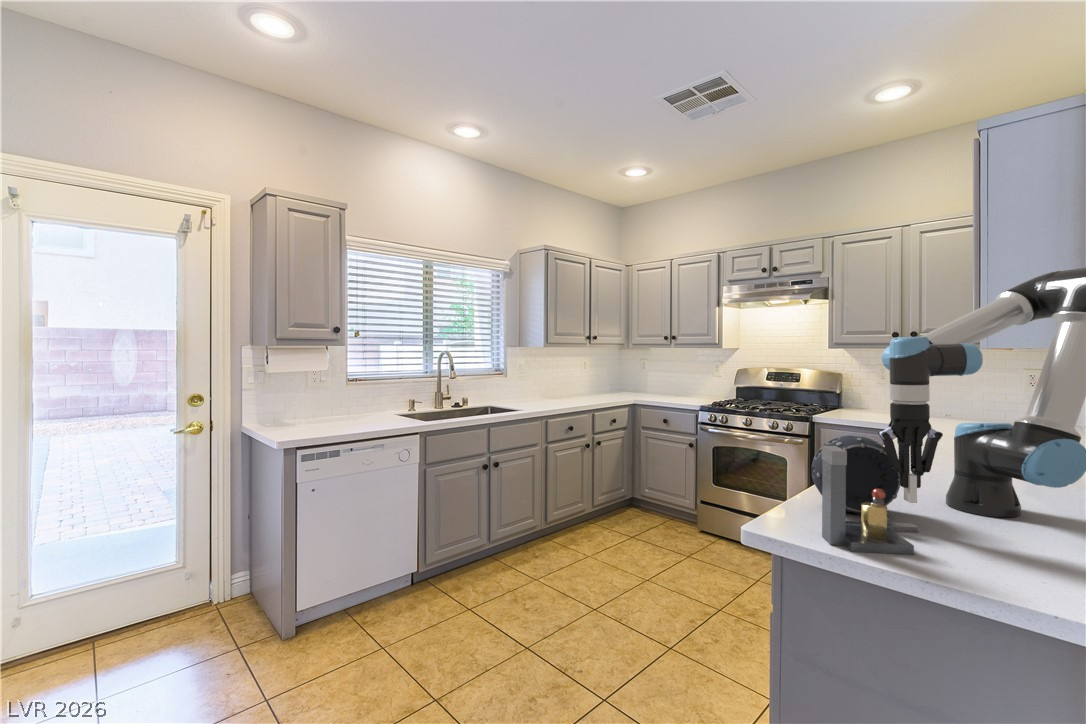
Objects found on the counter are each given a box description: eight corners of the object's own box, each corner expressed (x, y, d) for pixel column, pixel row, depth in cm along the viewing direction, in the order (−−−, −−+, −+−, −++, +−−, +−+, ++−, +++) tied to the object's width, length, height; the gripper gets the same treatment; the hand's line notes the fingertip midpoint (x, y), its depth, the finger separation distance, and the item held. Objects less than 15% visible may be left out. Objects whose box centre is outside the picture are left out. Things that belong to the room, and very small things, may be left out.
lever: (884, 520, 121) (884, 487, 121) (890, 525, 118) (890, 490, 118) (866, 519, 122) (866, 486, 122) (871, 524, 119) (872, 489, 119)
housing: (880, 531, 113) (880, 500, 113) (891, 539, 108) (891, 507, 108) (857, 530, 114) (857, 499, 114) (867, 538, 109) (867, 506, 109)
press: (912, 528, 120) (913, 441, 119) (956, 557, 104) (958, 456, 103) (808, 523, 124) (809, 439, 123) (835, 550, 108) (836, 453, 107)
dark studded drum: (907, 520, 126) (907, 441, 125) (820, 515, 130) (820, 438, 129) (886, 506, 136) (887, 433, 136) (807, 503, 140) (807, 432, 140)
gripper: (931, 400, 121) (931, 497, 121) (871, 400, 123) (872, 495, 124) (950, 403, 113) (951, 506, 114) (886, 404, 116) (888, 505, 116)
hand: (910, 501), depth 119 cm, fingers closed
